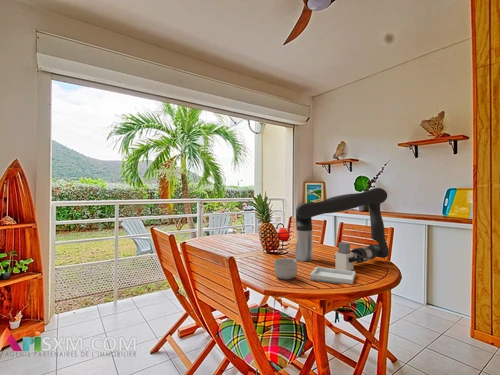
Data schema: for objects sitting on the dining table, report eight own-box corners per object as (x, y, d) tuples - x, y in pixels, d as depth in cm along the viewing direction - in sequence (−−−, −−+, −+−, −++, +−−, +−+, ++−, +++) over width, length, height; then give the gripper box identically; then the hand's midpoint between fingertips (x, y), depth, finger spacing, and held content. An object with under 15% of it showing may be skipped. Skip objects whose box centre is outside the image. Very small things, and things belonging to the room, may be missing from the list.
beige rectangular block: (345, 272, 134) (345, 254, 134) (335, 269, 139) (335, 252, 139) (353, 270, 137) (353, 252, 138) (343, 268, 143) (343, 250, 143)
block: (345, 270, 136) (345, 244, 136) (338, 268, 139) (338, 242, 139) (350, 269, 138) (350, 243, 138) (343, 267, 141) (343, 242, 141)
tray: (310, 279, 123) (309, 274, 123) (316, 271, 135) (316, 266, 136) (352, 285, 115) (352, 279, 115) (355, 276, 128) (355, 271, 128)
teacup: (291, 282, 119) (291, 264, 119) (269, 278, 125) (269, 261, 125) (303, 274, 131) (303, 258, 131) (282, 271, 136) (282, 255, 137)
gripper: (349, 245, 152) (330, 248, 143) (373, 249, 141) (354, 253, 132) (349, 258, 152) (330, 263, 143) (373, 264, 140) (354, 269, 131)
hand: (342, 258), depth 137 cm, fingers open, 8 cm apart
